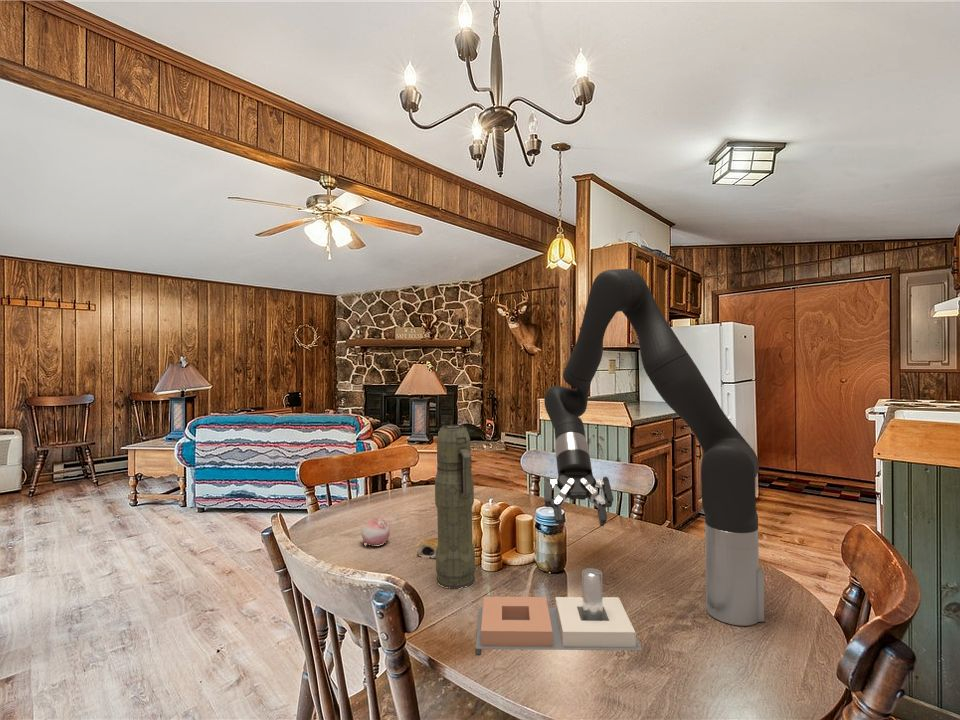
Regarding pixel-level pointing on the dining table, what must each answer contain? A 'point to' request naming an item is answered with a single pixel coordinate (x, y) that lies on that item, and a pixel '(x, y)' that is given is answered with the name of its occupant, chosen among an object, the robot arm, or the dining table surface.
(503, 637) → the dock board
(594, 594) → the steel pin
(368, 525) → the onion
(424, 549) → the pastry
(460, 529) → the thermos
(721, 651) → the dining table surface
